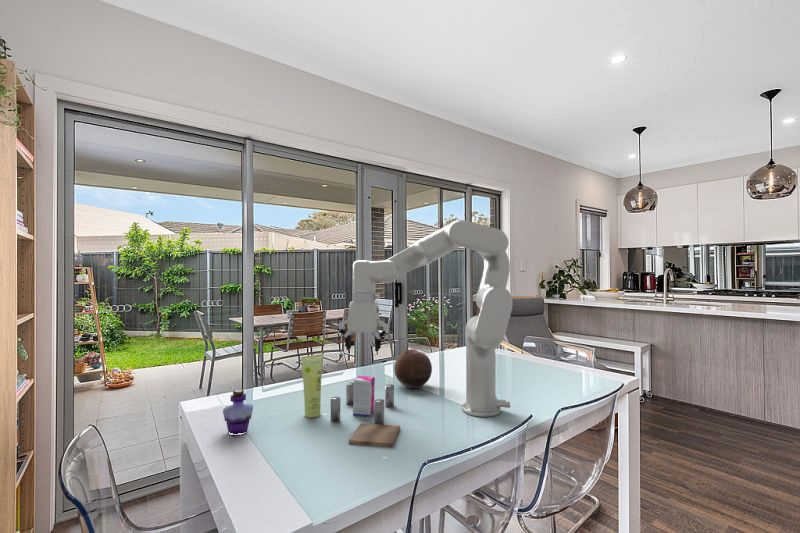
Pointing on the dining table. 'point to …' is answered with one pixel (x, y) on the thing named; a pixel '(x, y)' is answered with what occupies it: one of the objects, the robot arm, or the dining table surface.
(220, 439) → the dining table surface
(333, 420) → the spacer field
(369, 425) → the walnut pad
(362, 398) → the supplement box
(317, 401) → the tube
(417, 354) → the wooden sphere
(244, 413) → the potion bottle
